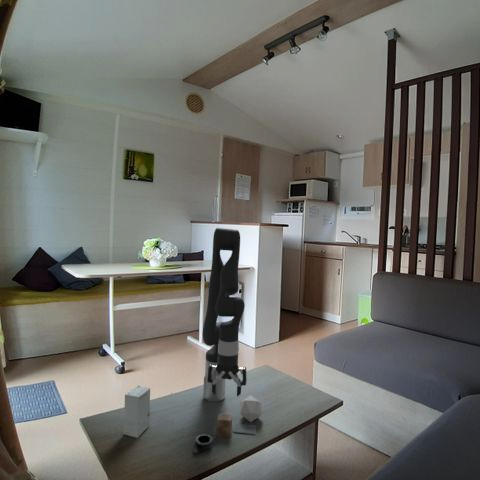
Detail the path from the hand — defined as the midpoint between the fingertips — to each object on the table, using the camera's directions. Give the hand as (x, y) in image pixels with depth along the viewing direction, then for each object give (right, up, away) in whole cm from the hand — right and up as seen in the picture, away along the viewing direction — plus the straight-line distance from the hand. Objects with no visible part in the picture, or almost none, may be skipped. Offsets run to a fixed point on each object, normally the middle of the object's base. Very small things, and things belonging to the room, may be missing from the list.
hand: (226, 394), depth 128 cm
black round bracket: (-8, -15, -7) cm, 19 cm away
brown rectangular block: (-1, -15, +1) cm, 15 cm away
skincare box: (-33, -13, 0) cm, 36 cm away
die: (+9, -15, +11) cm, 20 cm away
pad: (+7, -15, +3) cm, 17 cm away
